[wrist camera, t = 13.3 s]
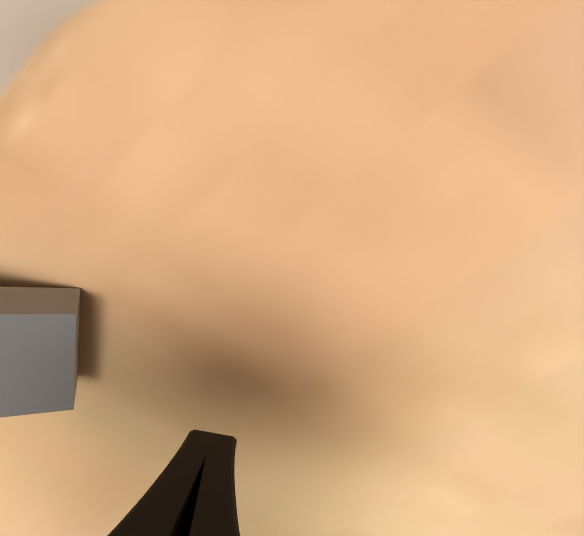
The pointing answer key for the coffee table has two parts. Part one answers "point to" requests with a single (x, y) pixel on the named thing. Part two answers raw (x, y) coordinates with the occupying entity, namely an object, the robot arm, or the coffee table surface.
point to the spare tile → (38, 349)
